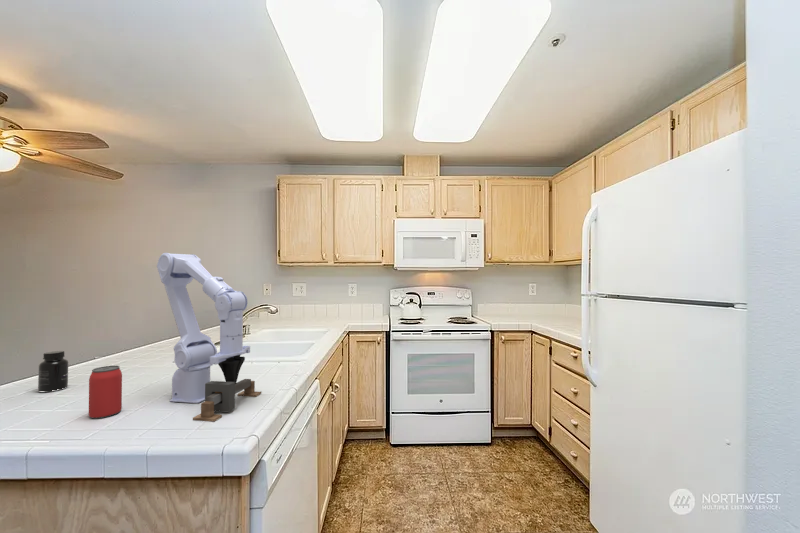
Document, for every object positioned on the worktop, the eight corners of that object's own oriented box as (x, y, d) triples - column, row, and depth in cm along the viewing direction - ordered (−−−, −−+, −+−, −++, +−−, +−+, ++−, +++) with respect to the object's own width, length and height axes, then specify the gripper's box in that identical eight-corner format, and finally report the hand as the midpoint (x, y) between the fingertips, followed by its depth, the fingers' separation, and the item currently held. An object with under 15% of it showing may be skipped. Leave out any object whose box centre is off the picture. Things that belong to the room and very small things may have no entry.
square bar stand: (192, 420, 86) (192, 399, 86) (243, 392, 106) (243, 375, 106) (214, 421, 85) (214, 400, 85) (261, 393, 105) (261, 376, 105)
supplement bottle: (71, 388, 113) (71, 351, 113) (41, 394, 107) (42, 355, 107) (64, 385, 116) (64, 349, 117) (35, 390, 111) (36, 353, 111)
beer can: (94, 421, 86) (94, 372, 86) (84, 416, 89) (85, 369, 90) (125, 412, 92) (126, 366, 92) (115, 407, 95) (116, 363, 95)
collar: (205, 410, 91) (205, 383, 91) (211, 407, 93) (211, 380, 93) (229, 412, 90) (229, 384, 90) (234, 408, 92) (235, 381, 92)
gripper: (226, 340, 89) (226, 393, 88) (259, 331, 103) (259, 377, 102) (202, 339, 90) (202, 392, 89) (238, 330, 104) (237, 376, 104)
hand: (231, 384), depth 96 cm, fingers closed
